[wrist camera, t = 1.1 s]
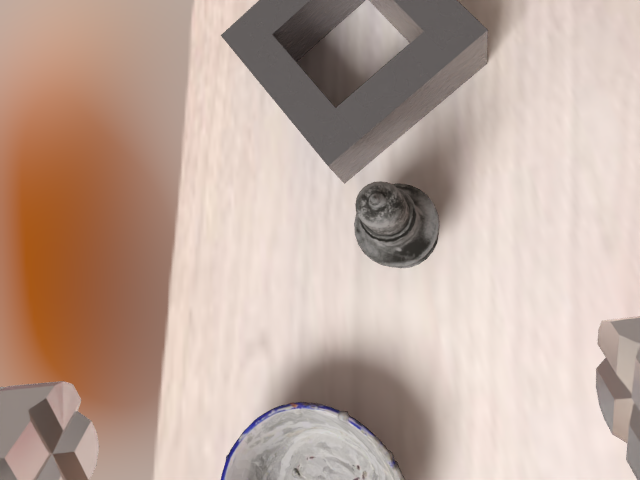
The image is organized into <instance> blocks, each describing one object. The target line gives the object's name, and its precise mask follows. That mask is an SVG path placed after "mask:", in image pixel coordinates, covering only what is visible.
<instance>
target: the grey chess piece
mask: <svg viewBox="0 0 640 480" xmlns="http://www.w3.org/2000/svg"><path fill="white" fill-rule="evenodd" d="M356 212H357V213H356V218H355V223H354V226H355V236H356V239H357V242H358V245H359V246H360V248H361V249H362V251H363V252H364V253H365V254H366V255H367V256H368V257H369V258H370V259H372V260H373V261H375V262H377V263H379V264H381V265H384V266H389V267H397V268H408V267H412V266H415V265H418V264H420V263H421V262H423V261H424V260H426V259H427V258H428V257H429V255H430V254H431V253H432V252H433V250H434V248H435V246H436V244H437V239H438V230H439V218H438V213H437V211H436V208H435V205H434V204H433V202H432V201H431V200H430V198H429V197H428V196H427V195H426V194H425V193H423V192H422V191H421V190H420V189H417V188H415V187H413V186H410V185H405V184H390V183H387V182H373V183H371V184H368V185H367V186H365V187H364V188H363V189H362V190H361V191H360V192H359V194H358V196H357V199H356Z"/></svg>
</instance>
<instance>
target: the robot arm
mask: <svg viewBox="0 0 640 480" xmlns="http://www.w3.org/2000/svg"><path fill="white" fill-rule="evenodd" d="M598 346H599V347H600V349H601V350H602V352H603V354H604V355H605V357H606V358H605V359H604V360H603V362H602V363H601V364H600V365H599V366H598V367H597V368H596V389H597V395H598V400H599V405H600V408H601V411H602V414H603V416H604V419H605V421H606V423H607V425H608V427H609V429H610V431H611V433H612V434H613V435H615V436H616V437H618V438H619V439H621V440H623V441H624V442H626V443H628V444H627V457H626V460H627V462H628V464H629V465H630V467H631V469H632V471H633V473H634V474H635V476H636V478H637V480H640V316H638V317H630V318H621V319H613V320H604V321H602V322H601V325H600V327H599V330H598ZM80 402H81V399H80V397H79V395H78V393H77V391H76V389H75V388H74V386H73V384H70V383H67V382H63V381H61V382H50V383H38V384H27V385H17V386H8V387H0V480H90V477H91V475H92V473H93V471H94V469H95V467H96V464H97V457H98V450H99V444H98V438H97V432H96V430H95V428H94V426H93V423H92V421H91V420H89V419H88V418H86V417H85V416H83V415H82V414H81V413H79V412H78V408H79V405H80Z"/></svg>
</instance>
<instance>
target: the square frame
mask: <svg viewBox="0 0 640 480" xmlns="http://www.w3.org/2000/svg"><path fill="white" fill-rule="evenodd" d="M364 1H365V0H259V1H258V2H257V3H256V4H255V5H254V6H253V7H251V8H250V9H249V10H248V11H247V12H246V13H245V14H244V15H243V16H242V17H241V18H239V19H238V20H237V21H236V22H235V23H234V24H233V25H232V26H231V27H230V28H228V29H227V30H226V31H225V32H224V33H223V34H222V35H221V36H222V37H223V39H224V40H225V41H226V42H227V43H228V45H229V46H230V47H231V48H232V49H233V51H234V52H235V53H236V54H237V56H238V57H239V58H240V59H241V60H242V62H243V63H244V64H245V65H246V67H247V68H248V69H249V70H250V71H251V73H252V74H253V75H254V76H255V78H256V79H257V80H258V81H259V82H260V84H261V85H262V86H263V87H264V88H265V90H266V91H267V92H268V93H269V95H270V96H271V97H272V98H273V99H274V101H275V102H276V103H277V104H278V106H279V107H280V108H281V109H282V110H283V112H284V113H285V114H286V115H287V117H288V118H289V119H290V120H291V121H292V123H293V124H294V125H295V126H296V127H297V129H298V130H299V131H300V132H301V134H302V135H303V136H304V137H305V138H306V140H307V141H308V142H309V143H310V145H311V146H312V147H313V148H314V149H315V151H316V152H317V153H318V154H319V156H320V157H321V158H322V159H323V160H324V162H325V163H326V164H327V165H328V166H329V167H330V169H331V170H332V171H333V172H334V173H335V174H336V175H337V176H338V177H339V178H340V179H341V180H342V181H343V182H344V184H345V183H346V182H347V181H348V180H349V179H350V178H352V177H353V176H354V175H355V174H356V173H358V172H359V171H360V170H361V169H362V168H364V167H365V166H366V165H367V164H368V163H369V162H371V161H372V160H373V159H374V158H375V157H377V156H378V155H379V154H380V153H381V152H383V151H384V150H385V149H386V148H387V147H388V146H390V145H391V144H392V143H393V142H394V141H396V140H397V139H398V138H399V137H400V136H402V135H403V134H404V133H405V132H406V131H407V130H409V129H410V128H411V127H412V126H413V125H415V124H416V123H417V122H418V121H419V120H421V119H422V118H423V117H424V116H425V115H426V114H428V113H429V112H430V111H431V110H432V109H434V108H435V107H436V106H437V105H438V104H440V103H441V102H442V101H443V100H444V99H445V98H447V97H448V96H449V95H450V94H451V93H453V92H454V91H455V90H456V89H457V88H459V87H460V86H461V85H462V84H463V83H464V82H466V81H467V80H468V79H469V78H470V77H472V76H473V75H474V74H475V73H476V72H478V71H479V70H480V69H481V68H482V67H483V66H485V65H486V64H487V42H488V30H487V29H486V28H485V27H484V26H483V25H482V24H481V23H480V22H479V21H478V20H477V19H476V18H475V17H474V16H473V15H472V14H471V13H470V12H469V11H468V10H467V9H465V8H464V7H463V6H462V5H461V4H460V3H459V2H458V1H457V0H369V1H370V2H371V3H372V4H373V5H374V6H375V7H376V8H377V9H378V10H379V11H380V12H381V13H382V14H383V15H384V16H385V17H386V18H387V19H388V21H389V22H390V23H391V24H392V25H393V26H394V27H395V28H396V29H397V30H398V31H399V32H400V33H401V34H402V35H403V36H404V37H405V38H406V39H407V40H408V41H409V42H410V44H409V45H408V46H407V47H405V48H404V49H403V50H402V51H401V52H400V53H399V54H397V55H396V56H395V57H394V58H393V59H392V60H390V61H389V62H388V63H387V64H386V65H385V66H384V67H382V68H381V69H380V70H379V71H378V72H377V73H375V74H374V75H373V76H372V77H371V78H370V79H368V80H367V81H366V82H365V83H364V84H363V85H362V86H360V87H359V88H358V89H357V90H356V91H355V92H353V93H352V94H351V95H350V96H349V97H348V98H347V99H345V100H344V101H343V102H342V103H341V104H340V105H338V106H337V107H336V108H335V107H334V106H333V105H332V103H331V102H330V101H329V100H328V99H327V98H326V96H325V95H324V94H323V93H322V92H321V91H320V89H319V88H318V87H317V86H316V85H315V84H314V82H313V81H312V80H311V79H310V78H309V77H308V76H307V74H306V73H305V72H304V71H303V70H302V69H301V67H300V66H299V65H298V64H297V63H296V61H297V60H299V59H300V58H301V57H302V56H303V55H304V54H305V53H306V52H308V51H309V50H310V49H311V48H312V47H313V46H314V45H315V44H317V43H318V42H319V41H320V40H321V39H322V38H323V37H324V36H326V35H327V34H328V33H329V32H330V31H331V30H332V29H333V28H335V27H336V26H337V25H338V24H339V23H340V22H341V21H342V20H344V19H345V18H346V17H347V16H348V15H349V14H350V13H352V12H353V11H354V10H355V9H356V8H357V7H358V6H359V5H361V4H362V3H363V2H364Z"/></svg>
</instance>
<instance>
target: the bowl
mask: <svg viewBox="0 0 640 480" xmlns="http://www.w3.org/2000/svg"><path fill="white" fill-rule="evenodd" d="M221 480H405V478H404V477H403V475H402V473H401V471H400V469H399V466H398V463H397V462H396V461H395V459H394V456H393V454H392V452H391V451H389V450H387V448H386V447H385V446H384V445H383V444H382V442H381V441H380V440H379V438H378V437H376V436H375V435H374V434H373V433H372V432H371V431H370V430H369V429H368V428H366V427H365V426H364V425H363V424H361V423H360V422H358V421H357V420H356V419H354V418H352V417H350V416H349V414H348V412H347V411H339V410H336V409H334V408H331V407H329V406H325V405H322V404H316V403H307V402H297V403H290V404H287V405H282V406H279V407H276V408H274V409H272V410H270V411H268V412H266V413H264V414H263V415H261V416H260V417H258V418H257V419H256V420H254V421H253V423H252V424H251V425H250V426H249V427H248V428H247V429H246V430H245V431H244V432H243V433H242V434H241V436H240V437H239V439H238V440H237V441H236V443H235V444H234V446H233V447H232V449H231V450H230V453H229V454H228V455H227V457H226V463H225V466H224V469H223V473H222V477H221Z"/></svg>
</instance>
